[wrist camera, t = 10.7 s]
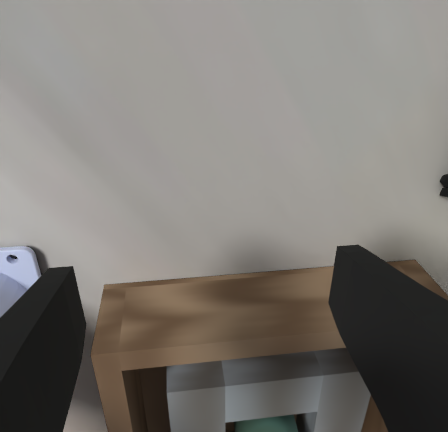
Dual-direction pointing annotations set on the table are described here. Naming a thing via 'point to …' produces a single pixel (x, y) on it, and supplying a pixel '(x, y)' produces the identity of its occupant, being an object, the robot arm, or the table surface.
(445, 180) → the electric trimmer
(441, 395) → the robot arm
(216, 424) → the box
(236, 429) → the peg
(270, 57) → the table surface
